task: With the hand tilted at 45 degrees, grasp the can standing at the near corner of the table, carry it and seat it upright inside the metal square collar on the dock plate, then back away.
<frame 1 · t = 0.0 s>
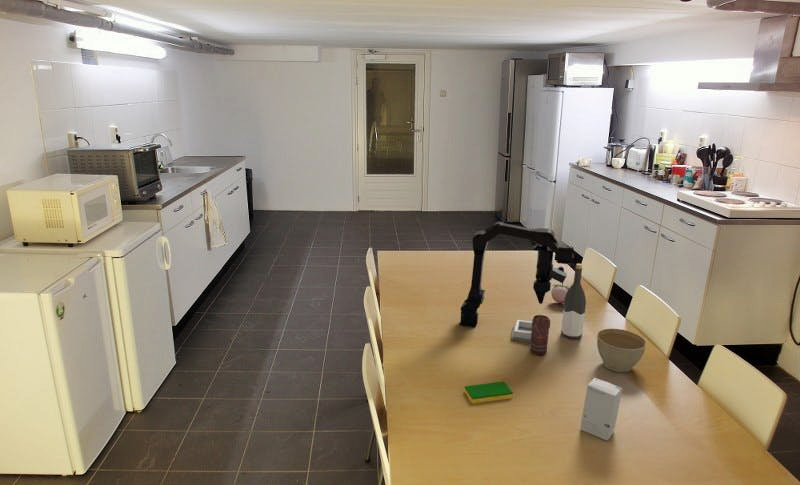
hand: (541, 299, 212), 15 cm above the table, tool pointing down, fingers open, 9 cm apart
can: (538, 352, 200), on the table
wine bottle: (571, 336, 214), on the table
decorative fruit: (560, 304, 245), on the table
skincare box: (597, 431, 155), on the table
dish sponge: (488, 396, 173), on the table
planter bowl: (617, 366, 191), on the table
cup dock: (529, 335, 214), on the table
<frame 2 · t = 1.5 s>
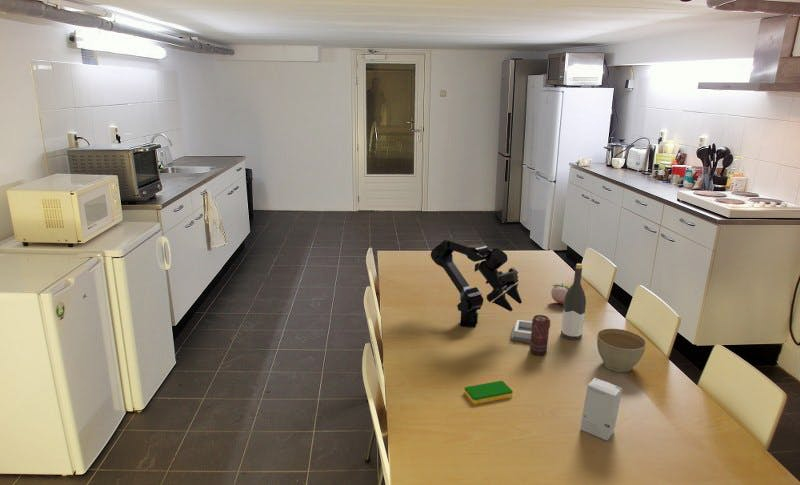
hand: (516, 306, 206), 14 cm above the table, tool tilted 45°, fingers open, 9 cm apart
nothing on the table moved.
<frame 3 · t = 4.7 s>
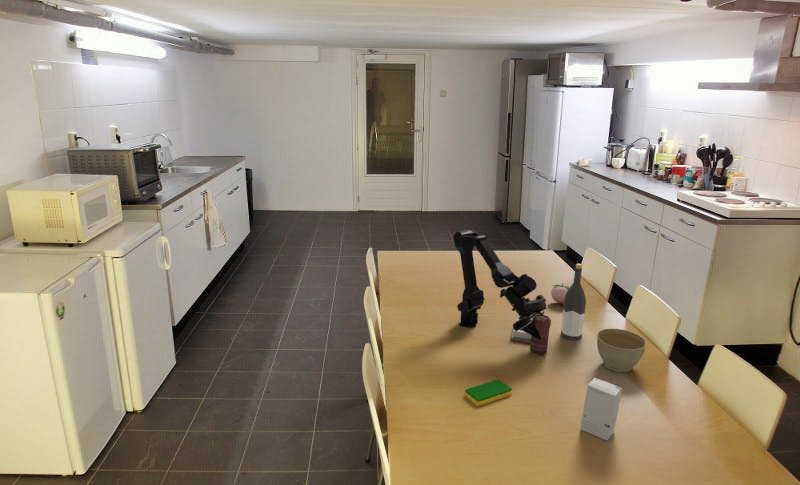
hand: (543, 336, 197), 7 cm above the table, tool tilted 45°, fingers closed on can, 6 cm apart
can: (538, 352, 200), on the table, touching gripper
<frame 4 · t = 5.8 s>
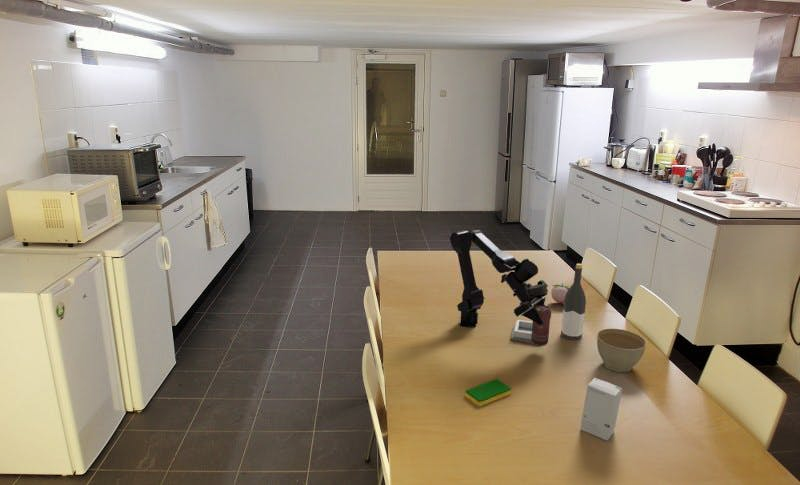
hand: (544, 321, 196), 13 cm above the table, tool tilted 45°, fingers closed on can, 6 cm apart
can: (539, 342, 200), point 4 cm above the table, touching gripper
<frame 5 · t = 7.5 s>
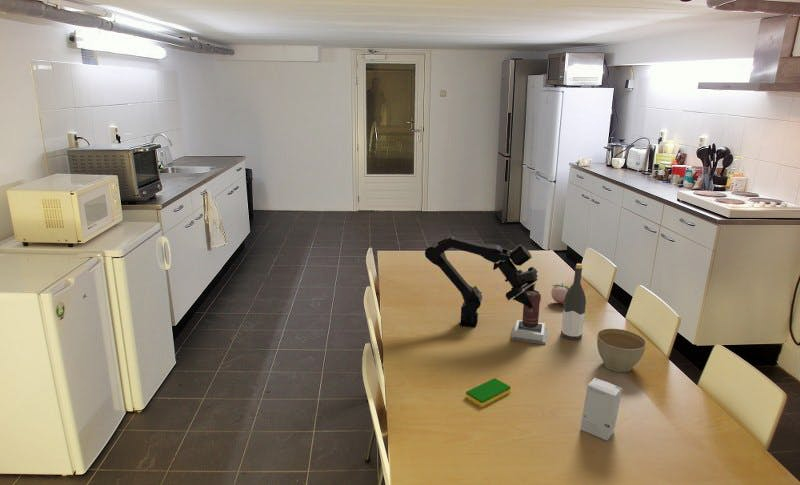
hand: (534, 305, 209), 13 cm above the table, tool tilted 45°, fingers closed on can, 6 cm apart
can: (530, 325, 213), point 4 cm above the table, touching gripper
when the fingers open (10 cm above the table, at t = 8.7 s): can stays where it is, resting on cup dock.
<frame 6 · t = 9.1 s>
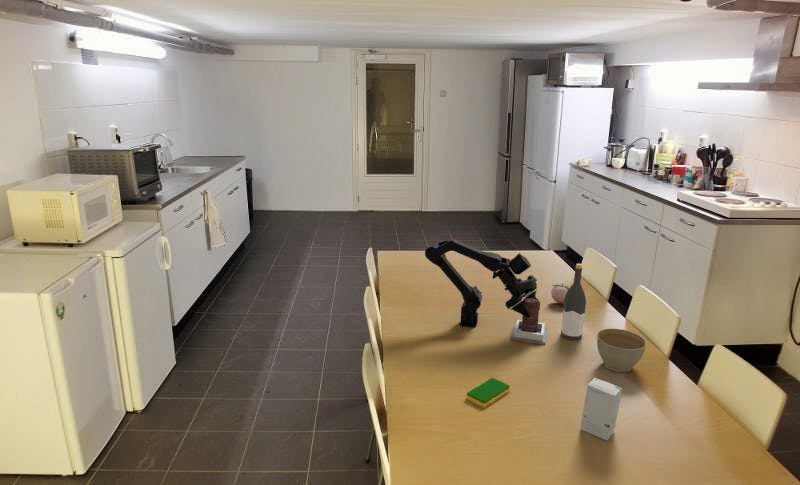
hand: (534, 313, 210), 10 cm above the table, tool tilted 45°, fingers open, 9 cm apart
can: (529, 332, 214), point 1 cm above the table, touching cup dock
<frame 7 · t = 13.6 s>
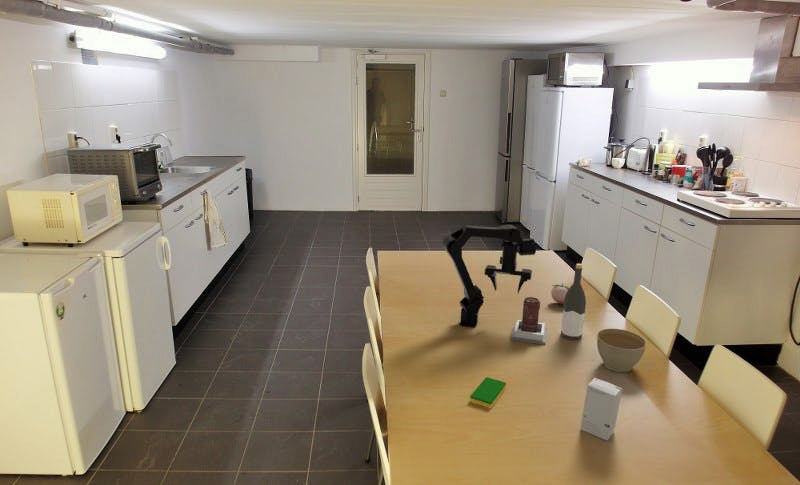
hand: (506, 291, 223), 13 cm above the table, tool pointing down, fingers open, 9 cm apart
at the end: can 0.6 cm off-centre on the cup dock, point 0.8 cm above the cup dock's base; can tilted 0°; the gripper is holding nothing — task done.
